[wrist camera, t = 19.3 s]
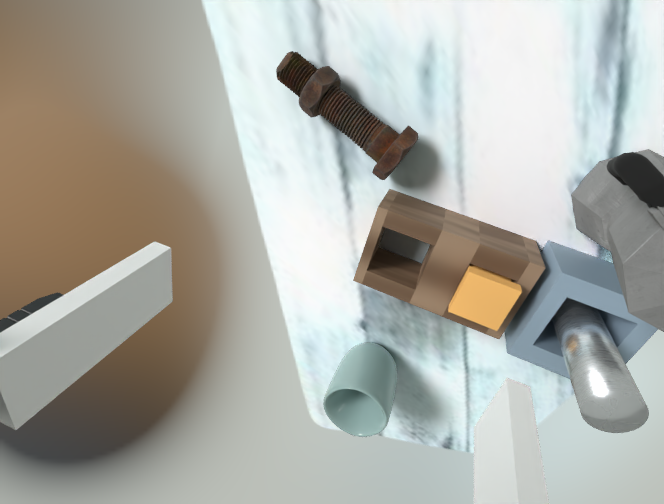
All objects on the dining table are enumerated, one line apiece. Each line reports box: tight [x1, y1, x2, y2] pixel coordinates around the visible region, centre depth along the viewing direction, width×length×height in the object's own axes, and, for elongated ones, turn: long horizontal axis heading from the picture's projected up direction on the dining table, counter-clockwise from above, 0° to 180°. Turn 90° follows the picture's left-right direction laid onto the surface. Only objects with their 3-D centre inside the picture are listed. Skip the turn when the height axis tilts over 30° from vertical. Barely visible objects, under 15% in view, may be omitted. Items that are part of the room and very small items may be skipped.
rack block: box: [505, 241, 658, 379], centre depth 37 cm, size 10×9×7 cm
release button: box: [448, 264, 522, 331], centre depth 38 cm, size 5×5×7 cm
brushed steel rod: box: [552, 297, 649, 433], centre depth 34 cm, size 4×4×16 cm
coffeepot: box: [571, 149, 664, 332], centre depth 27 cm, size 15×9×18 cm, turn 44°
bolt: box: [276, 51, 418, 180], centre depth 37 cm, size 6×5×15 cm
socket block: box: [353, 189, 545, 339], centre depth 40 cm, size 9×16×6 cm, turn 76°
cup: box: [323, 342, 397, 437], centre depth 48 cm, size 8×8×10 cm
